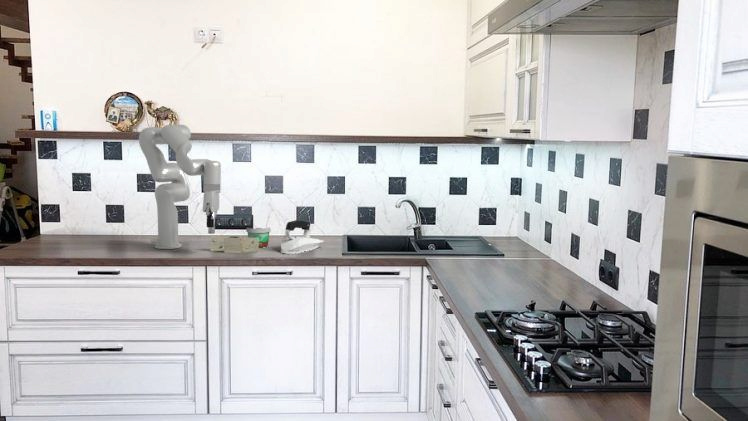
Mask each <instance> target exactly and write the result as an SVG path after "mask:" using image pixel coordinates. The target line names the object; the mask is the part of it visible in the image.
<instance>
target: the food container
mask: <svg viewBox="0 0 748 421" xmlns="http://www.w3.org/2000/svg"><path fill="white" fill-rule="evenodd" d="M245 232H246V233H247V237H250V238H259V249H264V248H263V247H266V248H268V247H269V238H270V233H271V232H272V230H271V227H264V228H262V227H256V228H251V227H247V228H246V231H245ZM267 246H268V247H267Z"/></svg>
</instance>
